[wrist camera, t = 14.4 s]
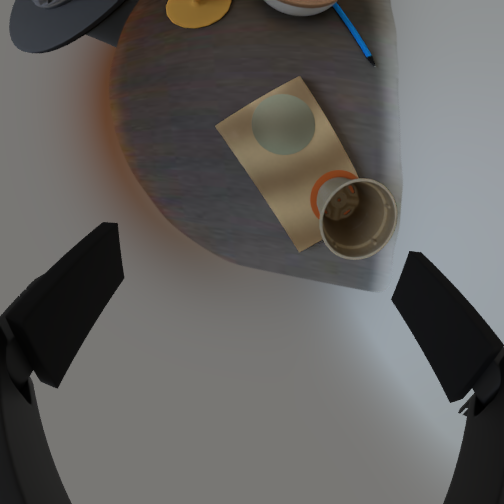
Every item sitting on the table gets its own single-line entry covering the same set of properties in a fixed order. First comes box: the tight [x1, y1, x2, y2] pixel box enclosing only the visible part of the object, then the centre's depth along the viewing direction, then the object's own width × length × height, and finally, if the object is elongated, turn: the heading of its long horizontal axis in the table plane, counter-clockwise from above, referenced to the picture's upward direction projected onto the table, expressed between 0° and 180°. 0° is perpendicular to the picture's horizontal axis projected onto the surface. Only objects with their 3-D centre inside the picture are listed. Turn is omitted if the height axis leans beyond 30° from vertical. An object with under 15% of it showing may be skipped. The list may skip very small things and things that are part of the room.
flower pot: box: [317, 177, 397, 260], centre depth 32 cm, size 9×9×9 cm
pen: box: [333, 2, 376, 67], centre depth 24 cm, size 1×19×1 cm
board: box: [215, 76, 359, 252], centre depth 34 cm, size 21×13×2 cm, turn 33°
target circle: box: [310, 170, 358, 219], centre depth 35 cm, size 8×8×1 cm
